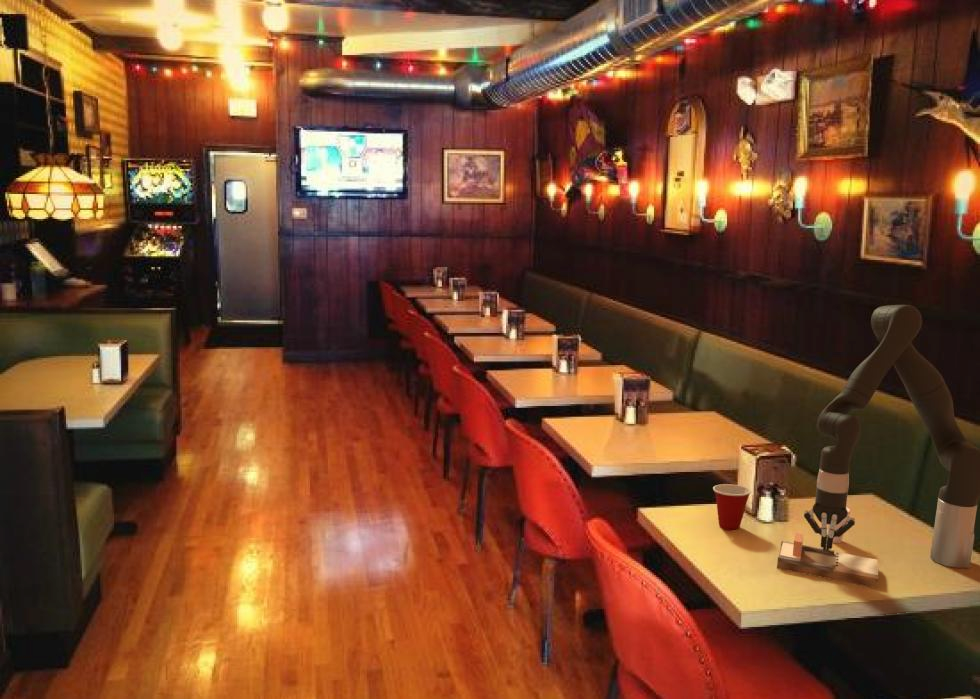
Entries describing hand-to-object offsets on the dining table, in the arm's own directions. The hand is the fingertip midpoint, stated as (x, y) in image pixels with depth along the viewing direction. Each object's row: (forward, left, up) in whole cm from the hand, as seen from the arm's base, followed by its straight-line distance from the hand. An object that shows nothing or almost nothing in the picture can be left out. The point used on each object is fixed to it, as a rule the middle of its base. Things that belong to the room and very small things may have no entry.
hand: (825, 549), depth 218 cm
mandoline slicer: (-1, 0, -5) cm, 5 cm away
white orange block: (+8, 0, -3) cm, 9 cm away
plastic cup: (+27, -17, -5) cm, 32 cm away
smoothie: (-2, -21, -5) cm, 22 cm away
